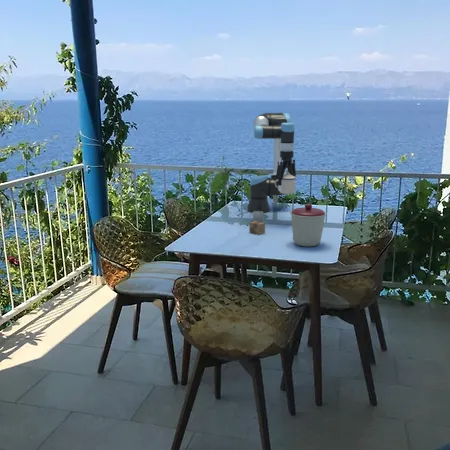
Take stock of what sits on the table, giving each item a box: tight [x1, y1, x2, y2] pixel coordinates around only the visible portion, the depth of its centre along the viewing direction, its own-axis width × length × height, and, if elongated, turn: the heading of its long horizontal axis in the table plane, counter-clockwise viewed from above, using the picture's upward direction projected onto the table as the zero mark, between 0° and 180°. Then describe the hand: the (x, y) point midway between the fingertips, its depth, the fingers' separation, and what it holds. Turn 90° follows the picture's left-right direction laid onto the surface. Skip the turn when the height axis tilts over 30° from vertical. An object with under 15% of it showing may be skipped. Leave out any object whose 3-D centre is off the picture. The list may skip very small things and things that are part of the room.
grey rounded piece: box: [252, 211, 264, 223], centre depth 278 cm, size 6×6×8 cm
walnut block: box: [248, 220, 266, 236], centre depth 261 cm, size 7×5×6 cm
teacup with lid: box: [275, 171, 296, 195], centre depth 271 cm, size 12×9×12 cm
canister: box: [289, 203, 327, 247], centre depth 238 cm, size 18×18×21 cm
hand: (285, 189), depth 272 cm, fingers closed on teacup with lid, 9 cm apart
